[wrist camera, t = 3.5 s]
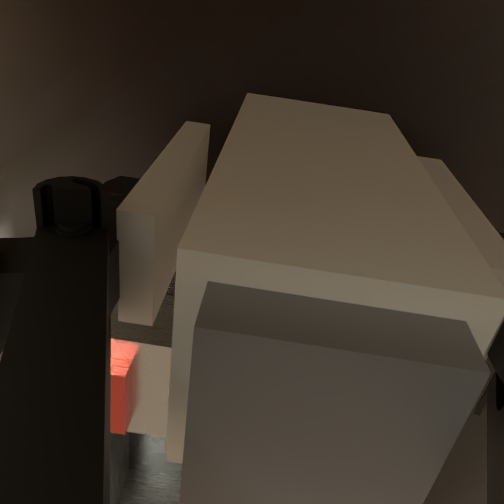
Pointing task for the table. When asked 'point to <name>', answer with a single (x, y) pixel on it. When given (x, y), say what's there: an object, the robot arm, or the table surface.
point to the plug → (323, 316)
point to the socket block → (141, 411)
